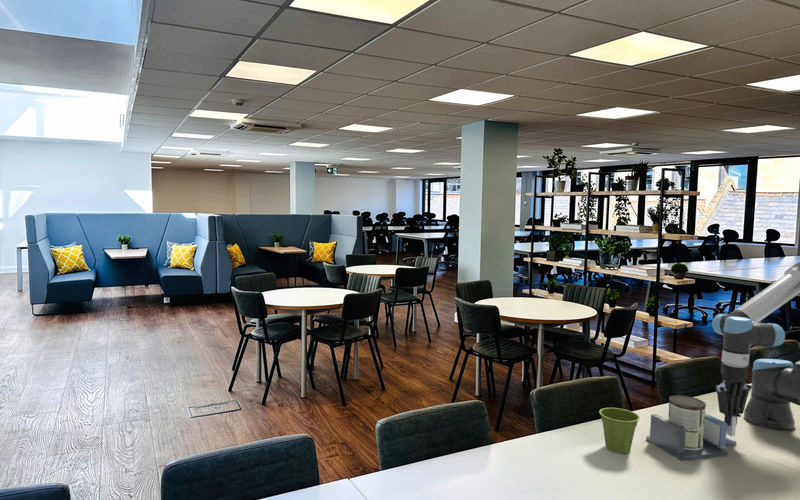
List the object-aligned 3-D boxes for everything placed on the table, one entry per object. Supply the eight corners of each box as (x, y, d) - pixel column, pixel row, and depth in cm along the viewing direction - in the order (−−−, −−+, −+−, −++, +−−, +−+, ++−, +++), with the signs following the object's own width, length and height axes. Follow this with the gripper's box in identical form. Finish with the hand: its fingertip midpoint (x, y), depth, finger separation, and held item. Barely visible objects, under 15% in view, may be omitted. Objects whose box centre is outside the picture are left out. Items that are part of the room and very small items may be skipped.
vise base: (711, 432, 175) (713, 406, 175) (751, 452, 161) (753, 424, 160) (646, 439, 168) (647, 412, 168) (682, 461, 154) (684, 431, 153)
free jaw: (710, 431, 173) (712, 408, 172) (739, 445, 162) (741, 421, 162) (690, 433, 170) (691, 410, 170) (718, 448, 160) (720, 423, 159)
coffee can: (662, 435, 169) (664, 393, 169) (696, 438, 167) (698, 396, 167) (672, 448, 159) (675, 404, 158) (708, 452, 157) (711, 408, 156)
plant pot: (637, 445, 164) (639, 411, 163) (638, 460, 153) (640, 424, 153) (598, 437, 169) (600, 404, 168) (596, 452, 158) (598, 417, 158)
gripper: (729, 368, 161) (723, 441, 163) (761, 366, 165) (755, 437, 166) (709, 362, 168) (704, 431, 170) (740, 360, 172) (734, 428, 173)
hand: (729, 434), depth 168 cm, fingers closed
